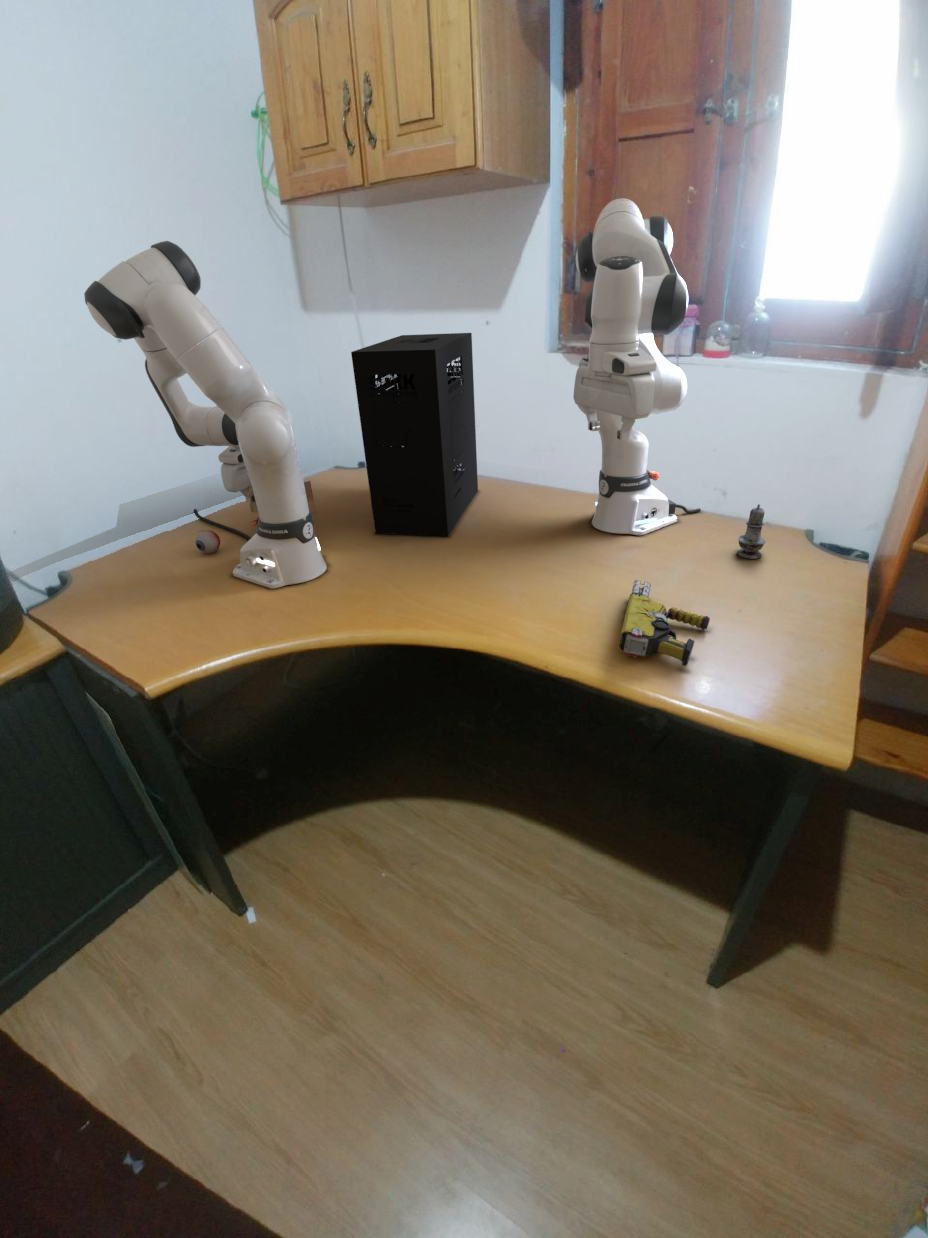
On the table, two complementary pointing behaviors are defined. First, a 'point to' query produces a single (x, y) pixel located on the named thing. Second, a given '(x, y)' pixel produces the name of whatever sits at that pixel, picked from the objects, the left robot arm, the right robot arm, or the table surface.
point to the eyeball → (207, 541)
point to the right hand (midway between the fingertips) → (607, 434)
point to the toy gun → (655, 627)
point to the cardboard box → (418, 431)
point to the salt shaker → (752, 535)
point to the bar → (308, 494)
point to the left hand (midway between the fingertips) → (261, 498)
